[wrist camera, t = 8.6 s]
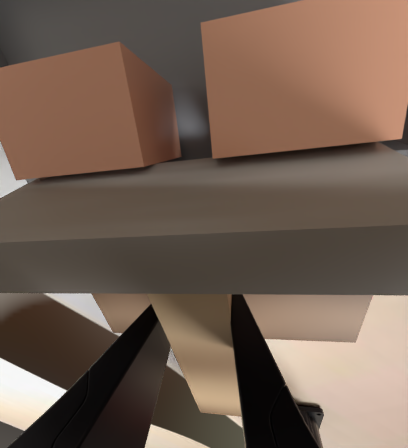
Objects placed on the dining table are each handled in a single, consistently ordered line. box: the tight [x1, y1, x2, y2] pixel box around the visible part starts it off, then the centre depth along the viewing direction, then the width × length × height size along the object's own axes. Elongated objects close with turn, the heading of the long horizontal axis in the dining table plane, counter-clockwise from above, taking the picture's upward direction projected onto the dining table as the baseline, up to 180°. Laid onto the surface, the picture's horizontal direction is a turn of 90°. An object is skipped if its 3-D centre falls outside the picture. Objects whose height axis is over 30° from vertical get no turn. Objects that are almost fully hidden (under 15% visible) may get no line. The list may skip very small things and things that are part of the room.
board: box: [91, 293, 373, 343], centre depth 13 cm, size 10×16×3 cm, turn 98°
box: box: [0, 0, 408, 183], centre depth 8 cm, size 9×18×3 cm, turn 98°
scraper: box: [0, 142, 408, 416], centre depth 9 cm, size 14×11×4 cm
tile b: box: [0, 42, 182, 180], centre depth 8 cm, size 4×4×3 cm
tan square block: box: [201, 0, 408, 159], centre depth 7 cm, size 4×4×3 cm
